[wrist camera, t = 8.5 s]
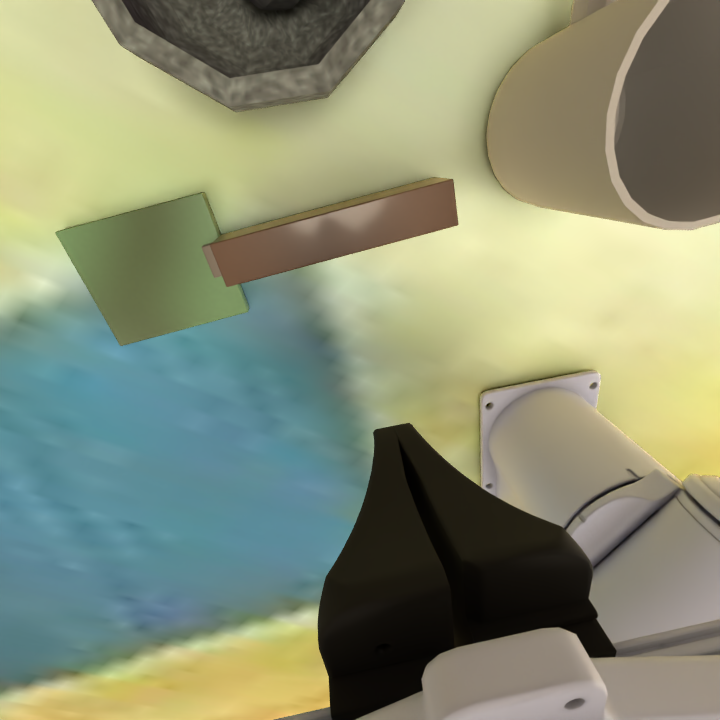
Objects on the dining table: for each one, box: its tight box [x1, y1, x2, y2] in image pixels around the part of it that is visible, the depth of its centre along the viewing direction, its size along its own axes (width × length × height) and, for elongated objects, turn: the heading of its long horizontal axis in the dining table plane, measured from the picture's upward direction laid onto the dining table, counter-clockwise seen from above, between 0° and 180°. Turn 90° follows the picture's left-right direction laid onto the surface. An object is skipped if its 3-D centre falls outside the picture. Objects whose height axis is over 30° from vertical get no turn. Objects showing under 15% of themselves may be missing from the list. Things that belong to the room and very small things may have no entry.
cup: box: [486, 0, 720, 230], centre depth 15 cm, size 7×10×9 cm
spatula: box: [55, 177, 458, 346], centre depth 19 cm, size 18×6×3 cm, turn 103°
